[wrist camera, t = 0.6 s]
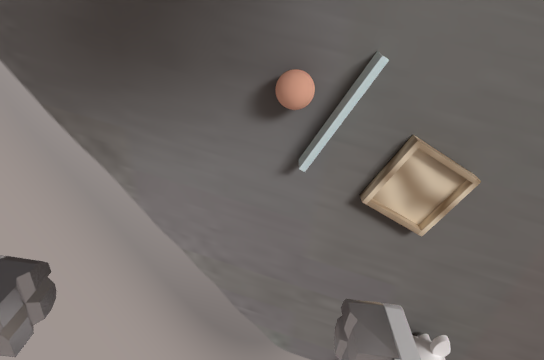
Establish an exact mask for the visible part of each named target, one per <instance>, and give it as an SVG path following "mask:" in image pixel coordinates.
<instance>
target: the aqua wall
mask: <svg viewBox="0 0 544 360" xmlns="http://www.w3.org/2000/svg"><path fill="white" fill-rule="evenodd" d="M388 61H389V60H388V59H387V58H386V57H384V56H383V55H381V54H380V53H379V52H376V54H375V55H374V56H373V58H372V59H371V60H370V62H369V63H368V65H367V66H366V67H365V69H364V70H363V71H362V73H361V74H360V76H359V77H358V78H357V80H356V81H355V82H354V84H353V85H352V87H351V88H350V89H349V91H348V92H347V93H346V95H345V96H344V98H343V99H342V100H341V102H340V103H339V104H338V106H337V107H336V109H335V110H334V111H333V113H332V114H331V115H330V117H329V118H328V120H327V121H326V122H325V124H324V125H323V126H322V128H321V129H320V131H319V132H318V133H317V135H316V136H315V138H314V139H313V140H312V142H311V143H310V144H309V146H308V147H307V149H306V150H305V151H304V153H303V154H302V155H301V157H300V158H299V169H300V170H302V171H304V172H305V171H306V170H307V168H308V167H309V166H310V164H311V163H312V162H313V160H314V159H315V158H316V156H317V155H318V154H319V153H320V151H321V150H322V149H323V147H324V146H325V145H326V143H327V142H328V141H329V139H330V138H331V137H332V135H333V134H334V133H335V131H336V130H337V129H338V127H339V126H340V125H341V123H342V122H343V121H344V119H345V118H346V117H347V115H348V114H349V113H350V111H351V110H352V109H353V107H354V106H355V105H356V103H357V102H358V101H359V99H360V98H361V97H362V95H363V94H364V93H365V92H366V90H367V89H368V88H369V86H370V85H371V84H372V82H373V81H374V80H375V78H376V77H377V76H378V74H379V73H380V72H381V70H382V69H383V68H384V66H385V65H386V64H387V62H388Z"/></svg>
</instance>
